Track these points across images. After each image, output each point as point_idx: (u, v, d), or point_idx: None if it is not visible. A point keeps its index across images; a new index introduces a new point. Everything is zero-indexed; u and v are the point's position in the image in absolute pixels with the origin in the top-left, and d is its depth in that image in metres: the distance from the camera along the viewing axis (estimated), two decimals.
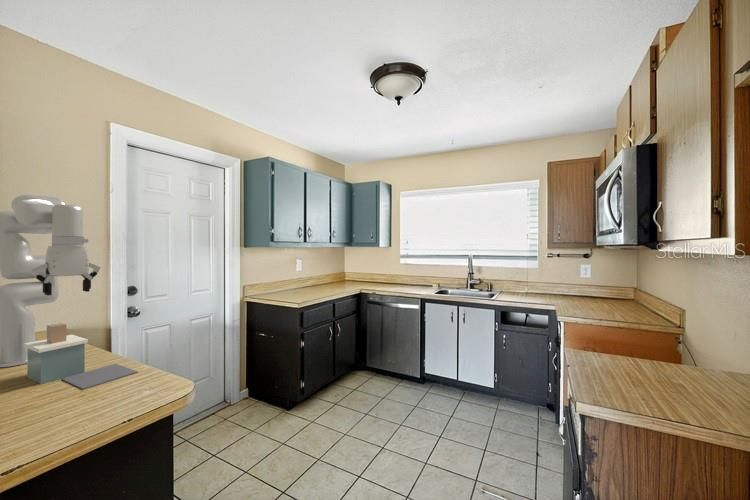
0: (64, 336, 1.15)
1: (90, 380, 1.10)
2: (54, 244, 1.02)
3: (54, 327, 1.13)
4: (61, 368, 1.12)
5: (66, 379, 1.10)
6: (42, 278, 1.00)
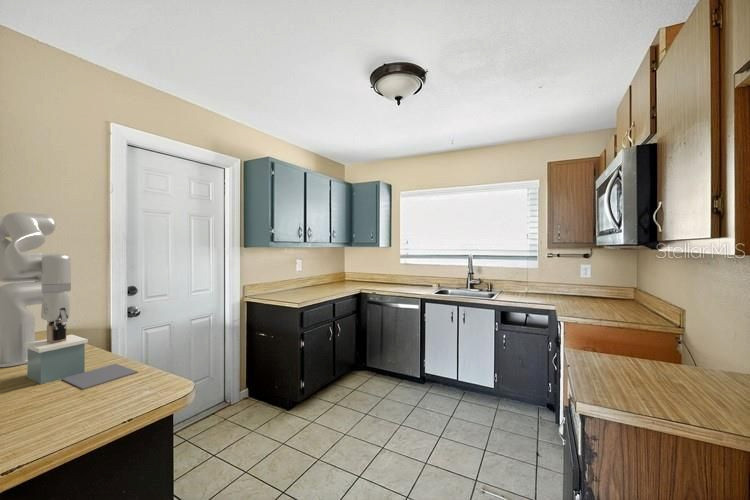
0: None
1: (90, 380, 1.10)
2: (64, 291, 1.14)
3: None
4: (61, 368, 1.12)
5: (66, 379, 1.10)
6: None
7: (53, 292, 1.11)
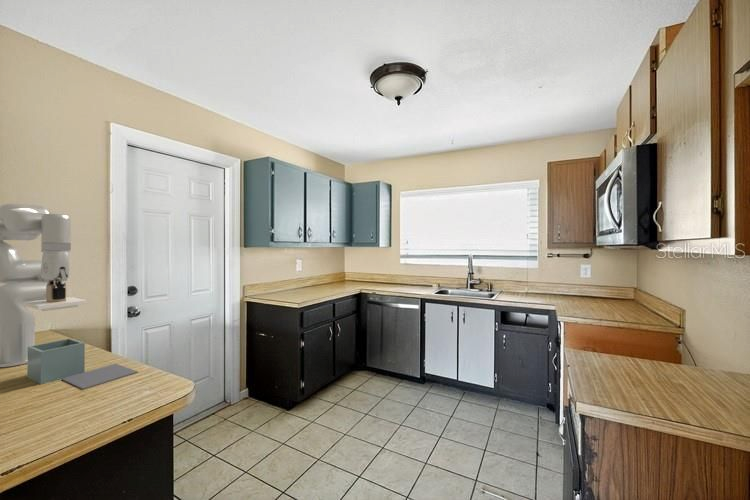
0: None
1: (90, 380, 1.10)
2: (64, 250, 1.14)
3: None
4: (61, 368, 1.12)
5: (66, 379, 1.10)
6: None
7: (53, 250, 1.11)
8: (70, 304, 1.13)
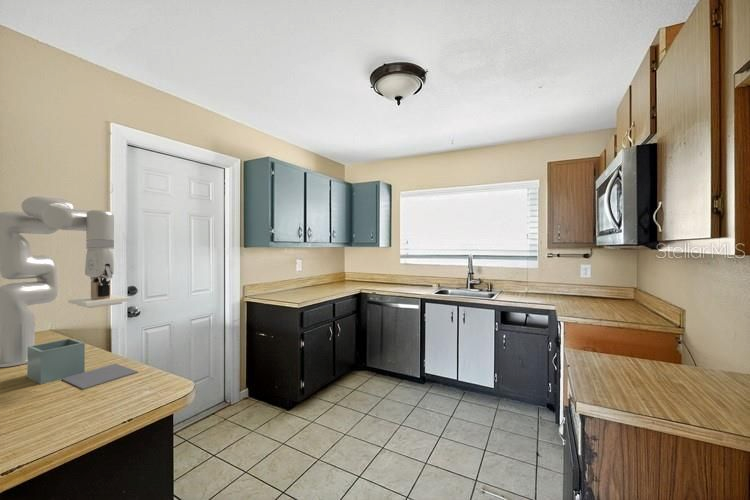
0: None
1: (90, 380, 1.10)
2: (108, 247, 1.13)
3: None
4: (61, 368, 1.12)
5: (66, 379, 1.10)
6: None
7: (98, 247, 1.11)
8: (115, 301, 1.13)
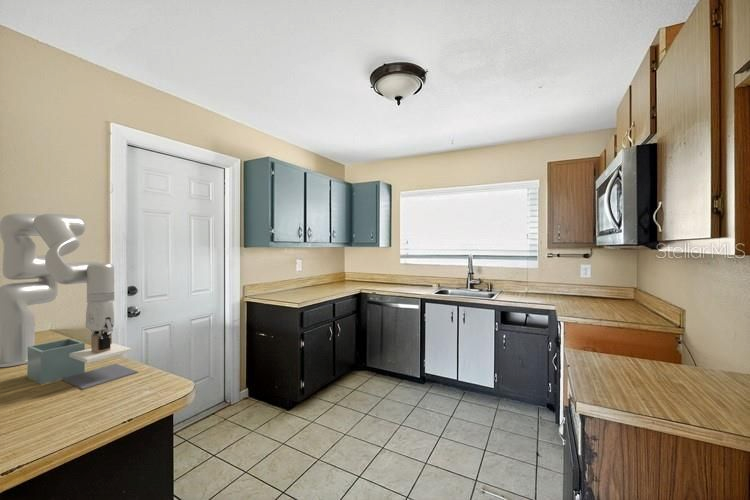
0: None
1: (90, 380, 1.10)
2: (109, 300, 1.13)
3: (99, 337, 1.12)
4: (61, 368, 1.12)
5: (66, 379, 1.10)
6: None
7: (99, 301, 1.11)
8: (116, 354, 1.13)
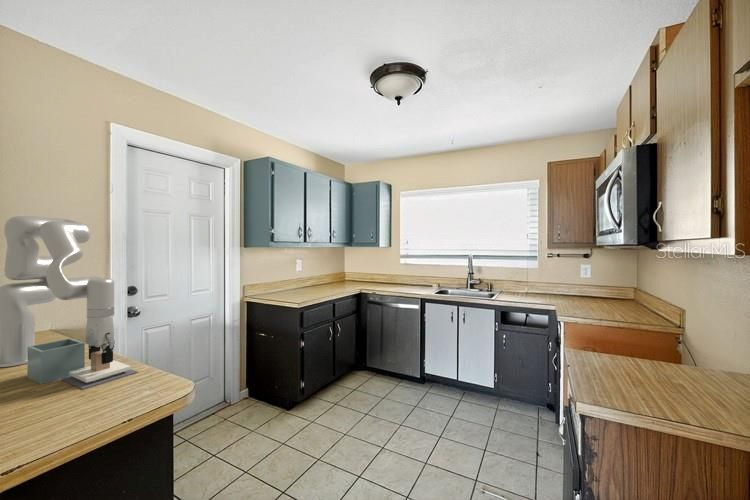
0: (108, 363, 1.15)
1: None
2: (109, 315, 1.13)
3: (99, 355, 1.12)
4: (61, 368, 1.12)
5: (66, 379, 1.10)
6: None
7: (99, 317, 1.11)
8: (115, 372, 1.13)
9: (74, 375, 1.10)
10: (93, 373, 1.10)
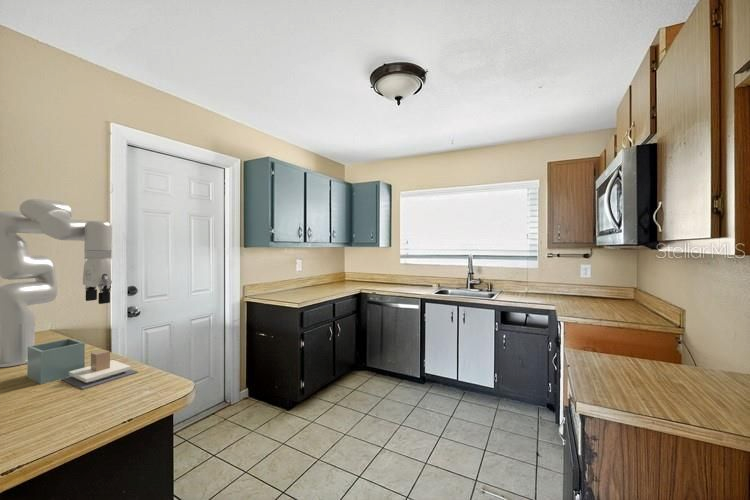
0: (108, 363, 1.15)
1: None
2: (106, 257, 1.15)
3: (99, 355, 1.12)
4: (61, 368, 1.12)
5: (66, 379, 1.10)
6: None
7: (96, 258, 1.12)
8: (115, 372, 1.13)
9: (74, 375, 1.10)
10: (93, 373, 1.10)
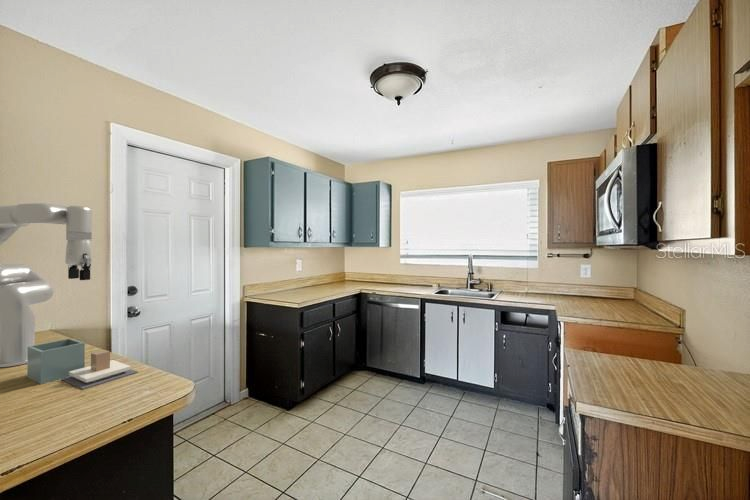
0: (108, 363, 1.15)
1: None
2: (86, 239, 1.27)
3: (99, 355, 1.12)
4: (61, 368, 1.12)
5: (66, 379, 1.10)
6: None
7: (77, 239, 1.25)
8: (115, 372, 1.13)
9: (74, 375, 1.10)
10: (93, 373, 1.10)
